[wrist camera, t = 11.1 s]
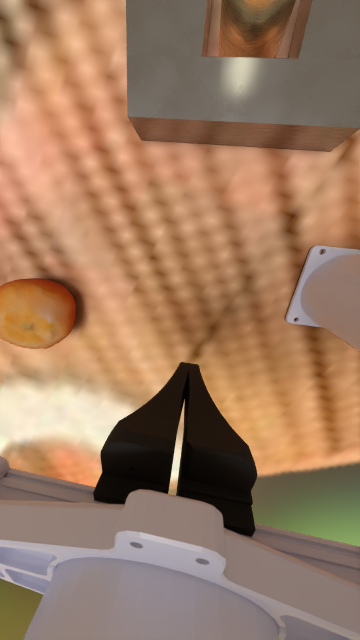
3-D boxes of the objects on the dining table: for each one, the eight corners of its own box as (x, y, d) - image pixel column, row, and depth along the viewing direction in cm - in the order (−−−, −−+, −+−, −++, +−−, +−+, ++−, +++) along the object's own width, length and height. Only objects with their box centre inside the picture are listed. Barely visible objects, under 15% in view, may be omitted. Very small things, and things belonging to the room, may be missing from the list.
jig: (424, -129, 10) (512, -279, 7) (330, 151, 14) (360, 128, 12) (143, -113, 11) (123, -235, 8) (141, 140, 16) (127, 116, 13)
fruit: (1, 259, 20) (-41, 282, 14) (80, 274, 24) (75, 297, 18) (7, 320, 23) (-25, 361, 17) (76, 325, 27) (70, 359, 21)
